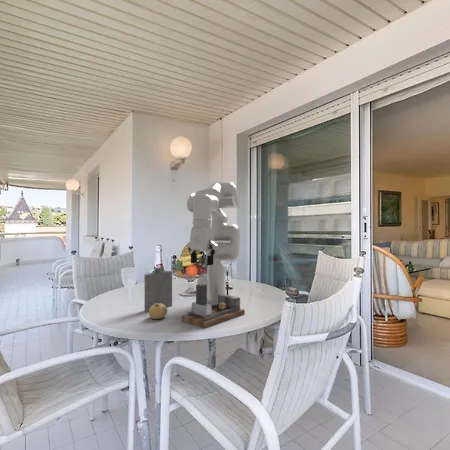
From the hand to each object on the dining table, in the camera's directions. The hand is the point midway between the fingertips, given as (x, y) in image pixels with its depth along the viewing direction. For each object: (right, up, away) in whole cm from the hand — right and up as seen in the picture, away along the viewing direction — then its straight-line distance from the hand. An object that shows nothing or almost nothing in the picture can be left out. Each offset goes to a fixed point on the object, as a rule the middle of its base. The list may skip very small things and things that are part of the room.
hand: (201, 264), depth 136 cm
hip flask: (-23, -25, +21) cm, 40 cm away
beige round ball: (+9, -21, +10) cm, 25 cm away
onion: (-20, -25, +5) cm, 32 cm away
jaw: (0, -21, 0) cm, 21 cm away
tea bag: (-4, -24, +60) cm, 65 cm away
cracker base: (+5, -24, +6) cm, 26 cm away
